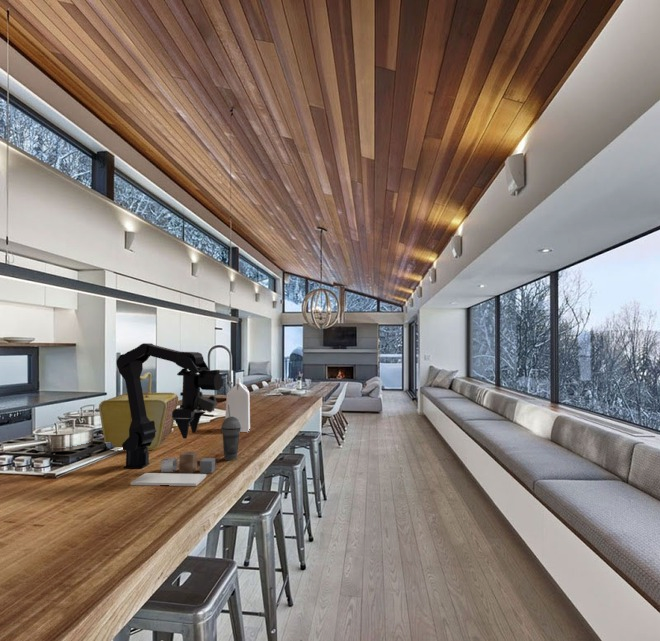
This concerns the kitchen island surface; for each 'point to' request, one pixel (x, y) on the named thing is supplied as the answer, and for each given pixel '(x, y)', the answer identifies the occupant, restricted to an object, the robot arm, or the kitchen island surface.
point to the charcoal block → (207, 465)
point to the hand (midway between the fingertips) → (189, 435)
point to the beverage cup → (230, 436)
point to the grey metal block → (169, 464)
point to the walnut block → (188, 462)
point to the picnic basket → (119, 418)
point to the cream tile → (169, 479)
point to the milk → (239, 405)
